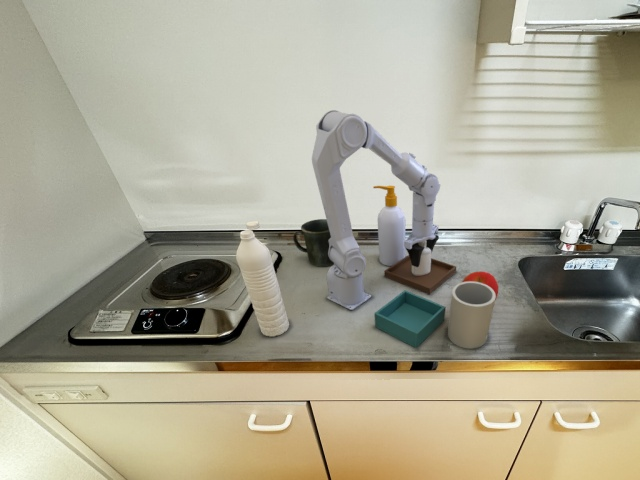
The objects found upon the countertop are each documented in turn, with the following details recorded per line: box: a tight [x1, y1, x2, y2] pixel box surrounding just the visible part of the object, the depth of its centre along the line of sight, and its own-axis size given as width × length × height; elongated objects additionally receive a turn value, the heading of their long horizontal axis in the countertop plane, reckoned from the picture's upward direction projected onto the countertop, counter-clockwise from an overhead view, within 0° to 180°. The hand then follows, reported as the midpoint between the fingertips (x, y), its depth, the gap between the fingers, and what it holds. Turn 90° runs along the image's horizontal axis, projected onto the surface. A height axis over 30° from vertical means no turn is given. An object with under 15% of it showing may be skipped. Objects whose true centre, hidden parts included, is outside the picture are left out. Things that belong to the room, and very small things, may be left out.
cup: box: [447, 281, 497, 350], centre depth 71 cm, size 9×9×12 cm
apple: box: [461, 270, 499, 301], centre depth 78 cm, size 9×9×12 cm
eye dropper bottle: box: [412, 240, 432, 276], centre depth 93 cm, size 4×6×12 cm
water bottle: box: [235, 220, 290, 337], centre depth 70 cm, size 9×6×25 cm
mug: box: [292, 218, 334, 267], centre depth 101 cm, size 11×15×12 cm
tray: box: [383, 254, 457, 295], centre depth 96 cm, size 16×15×2 cm
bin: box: [374, 290, 446, 349], centre depth 76 cm, size 12×12×4 cm
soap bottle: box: [372, 185, 406, 267], centre depth 97 cm, size 9×9×24 cm
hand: (421, 261), depth 94 cm, fingers closed on eye dropper bottle, 5 cm apart
